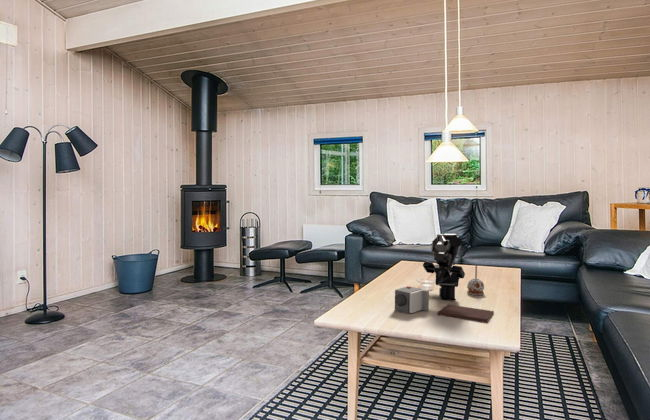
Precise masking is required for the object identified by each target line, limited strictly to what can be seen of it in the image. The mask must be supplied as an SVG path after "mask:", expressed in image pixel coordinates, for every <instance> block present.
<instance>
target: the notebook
mask: <svg viewBox="0 0 650 420" xmlns="http://www.w3.org/2000/svg"><path fill="white" fill-rule="evenodd" d="M493 313H495V312H494V311H493V310H490V309H489V310H487V309H480V308H476V307H468V306H460V305H455V304H449V303H448V304H445V306H443V308H441V309H440V310H438V312H437V315H438V316H443V317H448V318H449V317H450V318H455V319H461V320H465V321H466V320H468V321H473V322H479V323H485V322H486V323H488V322H489V320H490V319H491V318H492V316H493V315H494V314H493ZM492 314H493V315H492ZM490 317H491V318H490Z"/></svg>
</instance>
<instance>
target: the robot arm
mask: <svg viewBox="0 0 650 420" xmlns="http://www.w3.org/2000/svg"><path fill="white" fill-rule="evenodd" d="M462 245H463V240H462V238H460V237H459V236H458V235H457V233H438V234H437V235H436V238H434V240H432V242H431V248H430V249H431V253H432V254H433V257H434V258H433V260H434V261H436V264H434V262H433V261H427V260H426V261H424V262H423V263H422V267H423V268H424V270H425V272H426V273H427V274H428V273H429V274H434V273H435V282H434V283H435V285H436V286H439V291H438V292H439V294H438V296H439V298H440V299H441V300H442V301H456V300H457V299H456V288H458V287H459V283H460V279H464V278H465V275H466V272H465V271H464V269H463V267H462V266H460V265H455V264H456V263H455V261H456V259H457V257H458V255H459V253H460V249H461V247H462Z"/></svg>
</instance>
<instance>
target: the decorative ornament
mask: <svg viewBox="0 0 650 420" xmlns="http://www.w3.org/2000/svg"><path fill="white" fill-rule="evenodd" d="M474 270H475V271H474V278H471V279H469V281H468V283H467V293H468V294H469V295H473V296H481V295H484V294H485V292H484V290H485V284H484V282H483V281H482V280H481V279H480V278H478V264H475V269H474Z"/></svg>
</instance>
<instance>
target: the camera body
mask: <svg viewBox="0 0 650 420" xmlns="http://www.w3.org/2000/svg"><path fill="white" fill-rule="evenodd" d="M418 290H422V288H420V287H415V286H414V287H413V286H412V285H411V286H410V285H407V286H404V287H400V288H397V289H394V311H396V312H400V313H404V314H408V315H409V314H410V313H409V306H410V293H412V292H415V291H418Z"/></svg>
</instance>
